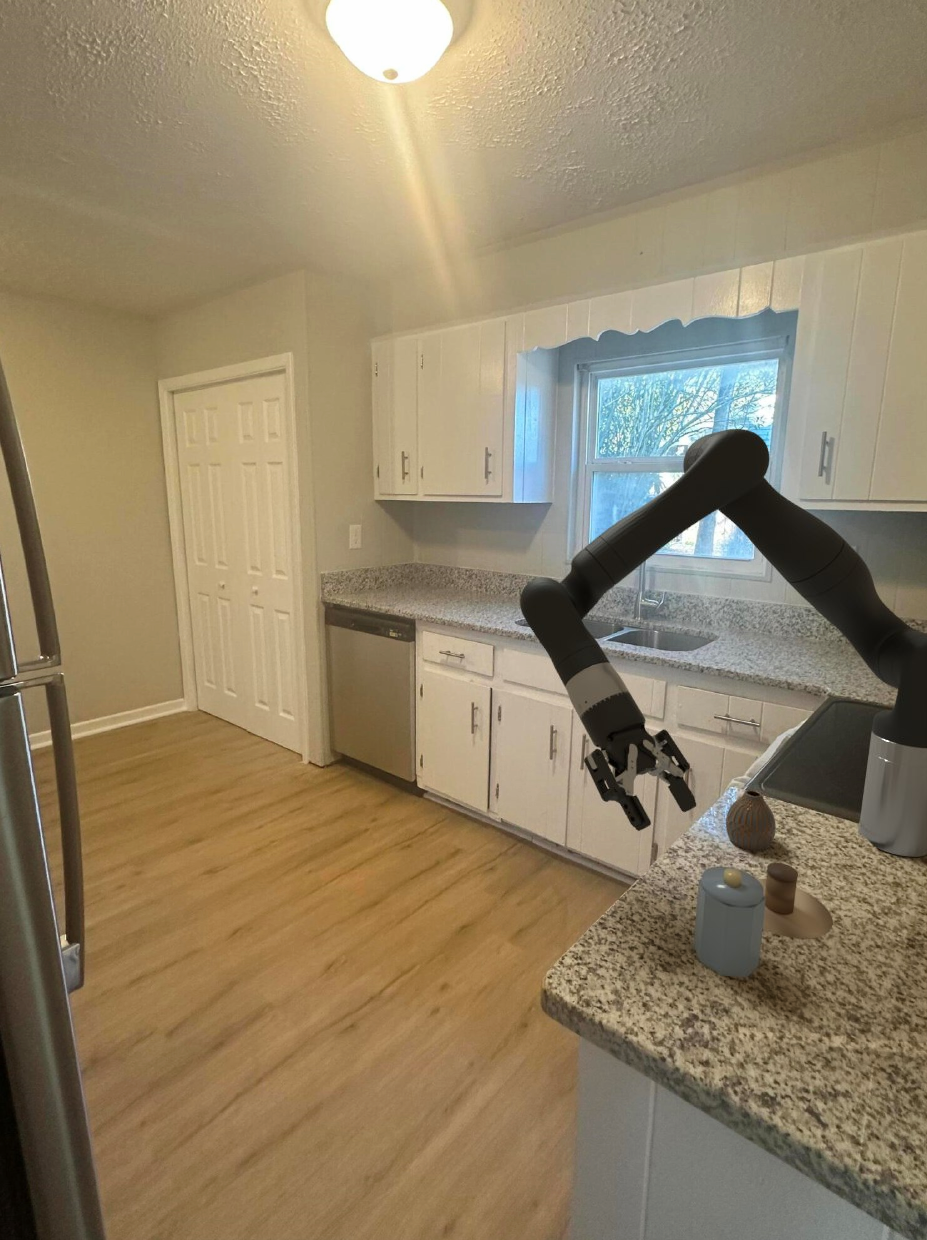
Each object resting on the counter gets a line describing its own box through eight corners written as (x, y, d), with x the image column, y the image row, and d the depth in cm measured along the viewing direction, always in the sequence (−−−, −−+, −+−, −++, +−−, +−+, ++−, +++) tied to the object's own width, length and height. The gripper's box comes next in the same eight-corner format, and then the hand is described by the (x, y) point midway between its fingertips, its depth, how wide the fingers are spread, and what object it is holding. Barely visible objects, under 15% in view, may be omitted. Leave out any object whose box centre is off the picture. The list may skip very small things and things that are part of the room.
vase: (767, 864, 91) (773, 808, 89) (718, 848, 95) (723, 795, 93) (777, 844, 96) (783, 791, 95) (730, 829, 100) (735, 779, 99)
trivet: (806, 887, 85) (807, 881, 85) (850, 948, 74) (851, 942, 73) (716, 881, 87) (716, 875, 86) (745, 940, 75) (745, 934, 75)
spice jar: (787, 898, 81) (791, 863, 81) (798, 916, 78) (802, 879, 77) (759, 896, 82) (763, 861, 81) (769, 914, 78) (773, 877, 78)
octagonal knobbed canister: (744, 944, 74) (753, 859, 72) (764, 985, 68) (774, 892, 66) (689, 940, 75) (695, 855, 73) (703, 980, 69) (711, 888, 67)
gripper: (579, 699, 77) (647, 824, 70) (656, 682, 85) (724, 792, 77) (550, 727, 82) (610, 845, 75) (624, 708, 90) (685, 814, 83)
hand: (668, 818), depth 76 cm, fingers open, 8 cm apart
